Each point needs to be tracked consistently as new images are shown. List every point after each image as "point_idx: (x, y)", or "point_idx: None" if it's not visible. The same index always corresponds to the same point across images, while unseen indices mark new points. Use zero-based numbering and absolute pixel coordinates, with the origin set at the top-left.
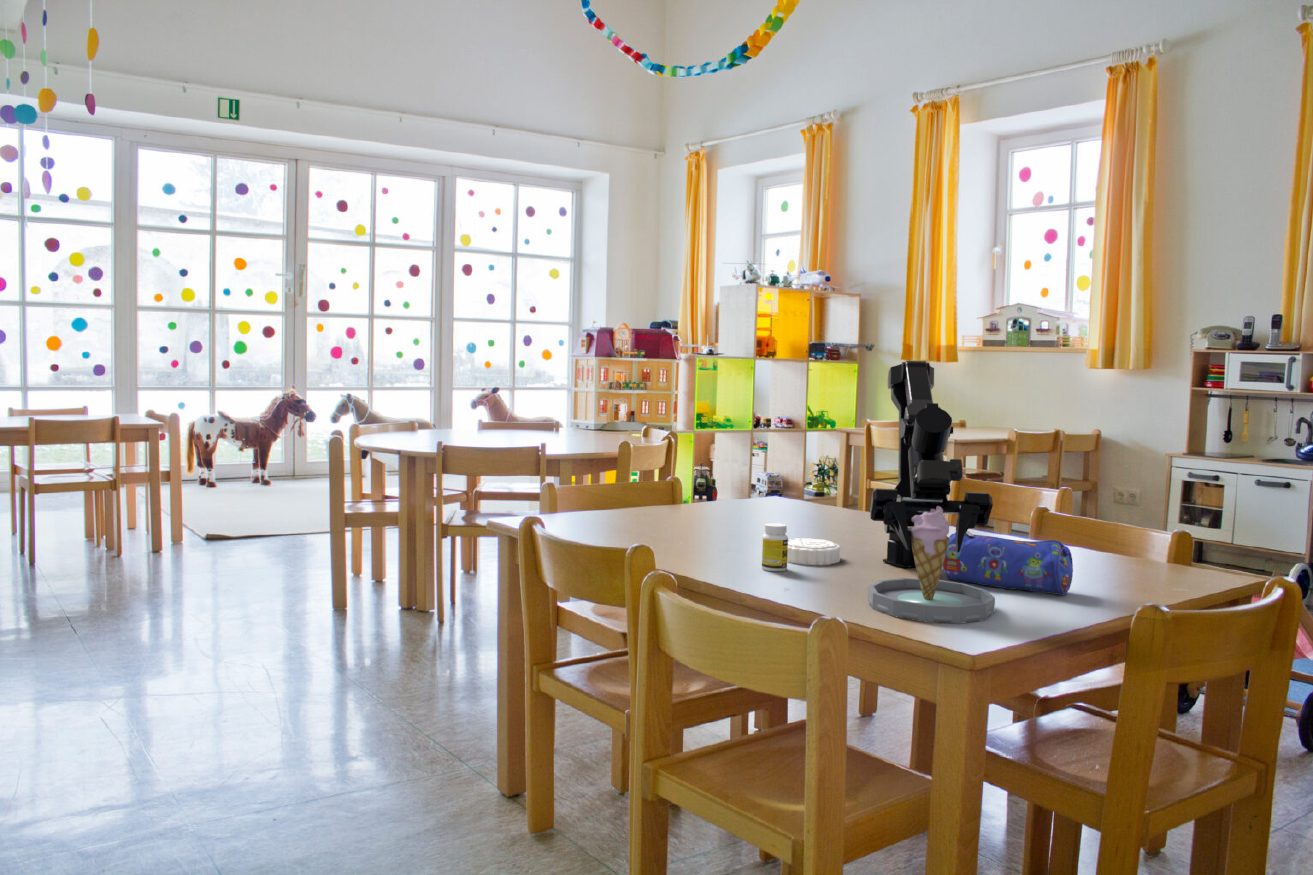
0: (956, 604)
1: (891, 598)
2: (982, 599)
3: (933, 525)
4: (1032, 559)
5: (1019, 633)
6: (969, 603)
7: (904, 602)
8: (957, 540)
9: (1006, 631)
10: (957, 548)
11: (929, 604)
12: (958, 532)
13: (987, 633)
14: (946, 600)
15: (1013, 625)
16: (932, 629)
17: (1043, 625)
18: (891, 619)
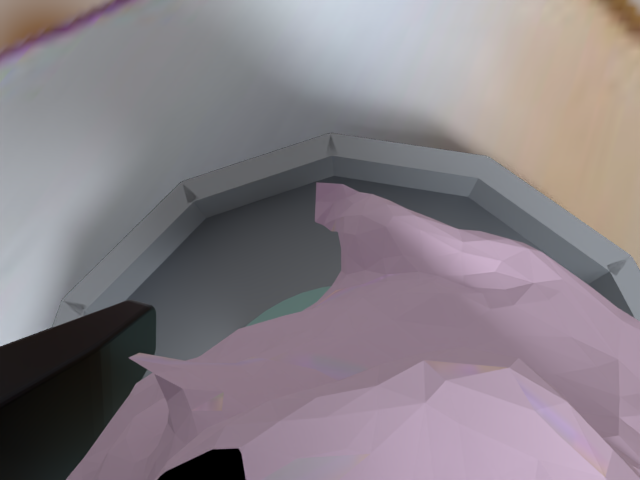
0: None
1: (637, 297)
2: None
3: (464, 294)
4: None
5: (172, 47)
6: None
7: (581, 223)
8: (102, 346)
9: (204, 69)
10: (147, 330)
11: (465, 175)
12: (7, 395)
13: (288, 48)
14: None
15: (130, 140)
16: (478, 94)
17: (14, 139)
18: (613, 233)
